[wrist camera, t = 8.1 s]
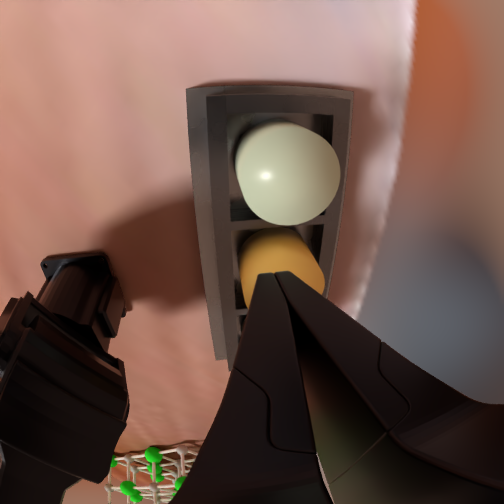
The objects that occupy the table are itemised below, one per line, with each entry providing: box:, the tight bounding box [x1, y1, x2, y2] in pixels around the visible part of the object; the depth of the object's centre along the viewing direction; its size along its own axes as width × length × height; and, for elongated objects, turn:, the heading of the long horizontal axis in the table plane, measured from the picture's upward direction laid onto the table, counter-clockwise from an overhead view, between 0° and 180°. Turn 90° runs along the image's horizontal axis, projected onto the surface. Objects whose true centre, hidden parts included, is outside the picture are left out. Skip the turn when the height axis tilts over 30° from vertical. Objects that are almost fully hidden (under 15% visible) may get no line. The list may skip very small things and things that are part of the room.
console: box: [186, 85, 353, 371], centre depth 21 cm, size 10×23×3 cm, turn 1°
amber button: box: [237, 227, 325, 309], centre depth 19 cm, size 5×5×4 cm
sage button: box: [234, 119, 340, 225], centre depth 15 cm, size 5×5×4 cm
